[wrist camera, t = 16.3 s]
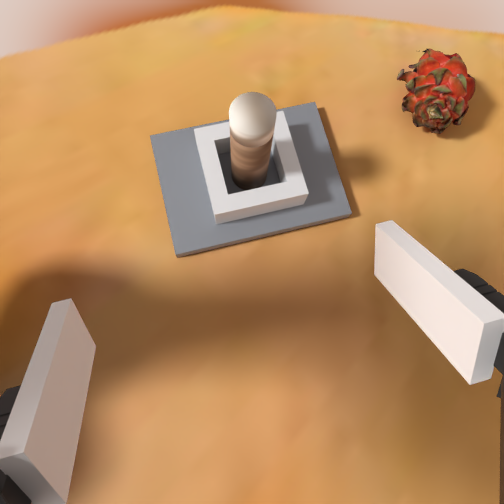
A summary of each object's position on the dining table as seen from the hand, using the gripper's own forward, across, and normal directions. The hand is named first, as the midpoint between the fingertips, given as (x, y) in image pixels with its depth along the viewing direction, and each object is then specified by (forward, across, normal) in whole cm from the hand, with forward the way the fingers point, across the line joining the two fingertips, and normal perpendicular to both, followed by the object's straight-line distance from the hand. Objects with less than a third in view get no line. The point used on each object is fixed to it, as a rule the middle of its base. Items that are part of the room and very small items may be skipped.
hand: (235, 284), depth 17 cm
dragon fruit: (+37, +32, -5) cm, 49 cm away
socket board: (+33, +6, -9) cm, 35 cm away
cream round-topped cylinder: (+32, +6, -8) cm, 33 cm away
